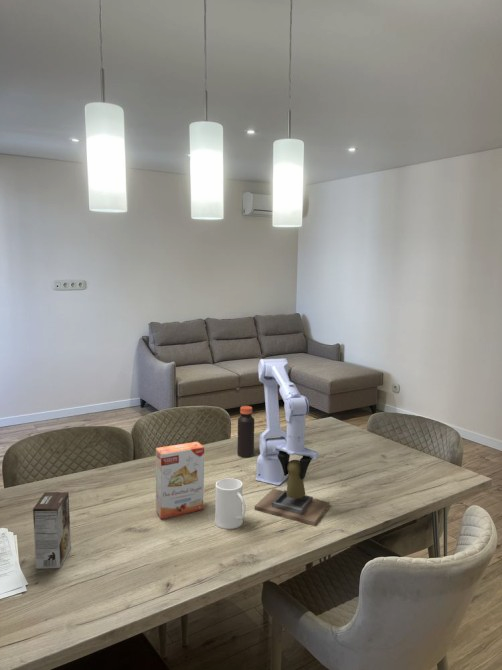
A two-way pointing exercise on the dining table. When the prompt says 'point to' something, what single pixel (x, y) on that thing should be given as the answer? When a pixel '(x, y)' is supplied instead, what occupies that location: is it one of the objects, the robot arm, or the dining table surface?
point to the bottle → (245, 432)
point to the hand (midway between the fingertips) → (294, 476)
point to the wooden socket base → (292, 507)
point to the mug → (229, 503)
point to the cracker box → (179, 479)
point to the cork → (295, 480)
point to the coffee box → (51, 529)
